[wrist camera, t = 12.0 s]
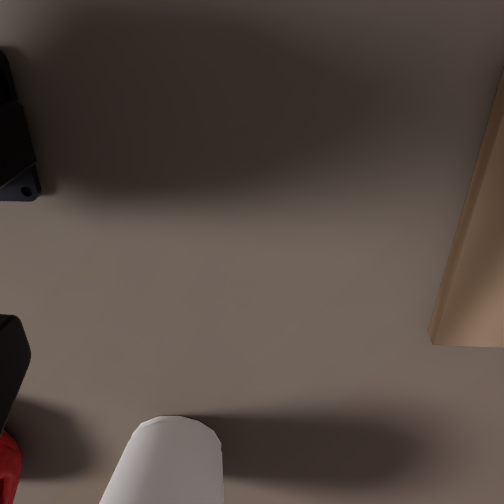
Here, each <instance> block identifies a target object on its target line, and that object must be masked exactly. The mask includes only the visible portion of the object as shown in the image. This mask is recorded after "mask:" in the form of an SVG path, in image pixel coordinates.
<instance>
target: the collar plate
mask: <svg viewBox="0 0 504 504" xmlns="http://www.w3.org/2000/svg"><path fill="white" fill-rule="evenodd" d="M427 333H428V335H429V337H430V339H431V342H432V344H433V345H445V346H476V347H504V68H503V72H502V75H501V79H500V82H499V86H498V89H497V92H496V96H495V99H494V103H493V106H492V110H491V113H490V117H489V120H488V124H487V127H486V131H485V134H484V138H483V141H482V145H481V148H480V151H479V155H478V158H477V162H476V165H475V169H474V172H473V176H472V179H471V183H470V186H469V190H468V193H467V197H466V200H465V204H464V207H463V210H462V214H461V217H460V221H459V224H458V228H457V231H456V235H455V238H454V242H453V245H452V249H451V252H450V256H449V259H448V263H447V266H446V269H445V273H444V276H443V280H442V283H441V287H440V290H439V294H438V297H437V301H436V304H435V308H434V311H433V315H432V318H431V322H430V325H429V329H428V332H427Z"/></svg>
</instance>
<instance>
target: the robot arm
mask: <svg viewBox="0 0 504 504" xmlns="http://www.w3.org/2000/svg"><path fill="white" fill-rule="evenodd" d="M35 162H36V156H35V152H34V148H33V144H32V140H31V137H30V133H29V129H28V125H27V121H26V117H25V113H24V110H23V106H22V105H21V104H20V103H19V102H18V98H17V95H16V91H15V87H14V83H13V79H12V76H11V72H10V68H9V64H8V61H7V58H6V56H5V55H4V53H3V52H2V51H0V201H26V202H30V201H34V200H35V199H36V198H38V197H39V196H40V194H41V186H40V182H39V178H38V174H37V171H36V167H35ZM25 186H26V187H29V188H30V189H31V191H32V193H29V192H28V191H27V190H26V189H25ZM30 359H31V350H30V346H29V343H28V340H27V337H26V334H25V331H24V328H23V325H22V323H21V320H20V319H19V318H18V317H17V316H15V315H5V314H0V436H1V434H2V432H3V429H4V427H5V424H6V421H7V419H8V416H9V414H10V411H11V409H12V406H13V404H14V401H15V399H16V396H17V394H18V391H19V389H20V386H21V384H22V381H23V379H24V376H25V374H26V371H27V369H28V366H29V363H30Z"/></svg>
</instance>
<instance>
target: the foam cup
mask: <svg viewBox="0 0 504 504" xmlns="http://www.w3.org/2000/svg"><path fill="white" fill-rule="evenodd" d="M99 504H224V495H223V466H222V451H221V442H220V440H219V439H218V437H217V435H216V433H215V432H214V431H213V430H212V429H210V428H209V427H207V426H206V425H204V424H203V423H201V422H200V421H197V420H193V419H189V418H186V417H182V416H157V417H155V418H152V419H150V420H147V421H145V422H142V423H141V424H140V425H139V426H138V428H137V429H136V430H135V431H134V432H133V434H132V437H131V439H130V440H129V442H128V444H127V446H126V448H125V450H124V452H123V454H122V456H121V458H120V461H119V463H118V465H117V467H116V469H115V471H114V473H113V475H112V478H111V480H110V482H109V484H108V486H107V488H106V490H105V492H104V494H103V497H102V499H101V501H100V503H99Z"/></svg>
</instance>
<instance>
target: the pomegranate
mask: <svg viewBox="0 0 504 504" xmlns="http://www.w3.org/2000/svg"><path fill="white" fill-rule="evenodd" d="M21 465H22V455H21V452H20V449H19V447H18V445H17V443H16V442H15V440H14V439H13V437H12V436H11V435H10V434H8V433H7V432H5V431H4V430H3V432H2V434H1V436H0V504H13V501H14V497H15V493H16V489H17V486H18V483H19V479H20V470H21Z"/></svg>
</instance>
